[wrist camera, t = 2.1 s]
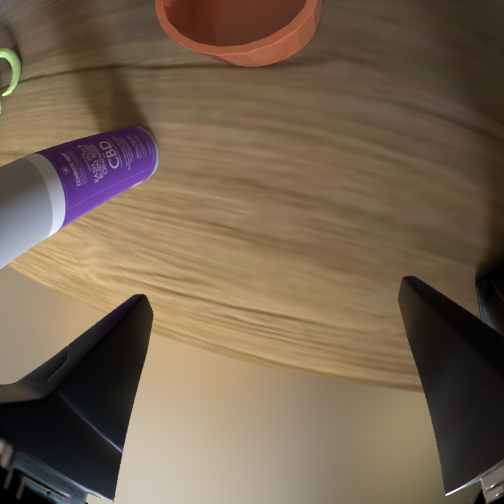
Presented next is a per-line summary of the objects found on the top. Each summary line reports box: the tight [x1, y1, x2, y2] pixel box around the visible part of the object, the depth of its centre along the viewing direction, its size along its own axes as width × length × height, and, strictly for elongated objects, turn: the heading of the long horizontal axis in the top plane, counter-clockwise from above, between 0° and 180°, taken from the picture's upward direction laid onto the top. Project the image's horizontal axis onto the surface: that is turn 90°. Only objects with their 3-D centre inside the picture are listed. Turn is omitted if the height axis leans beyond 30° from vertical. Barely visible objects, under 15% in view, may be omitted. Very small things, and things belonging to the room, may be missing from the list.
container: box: [0, 126, 159, 269], centre depth 15 cm, size 5×5×15 cm
